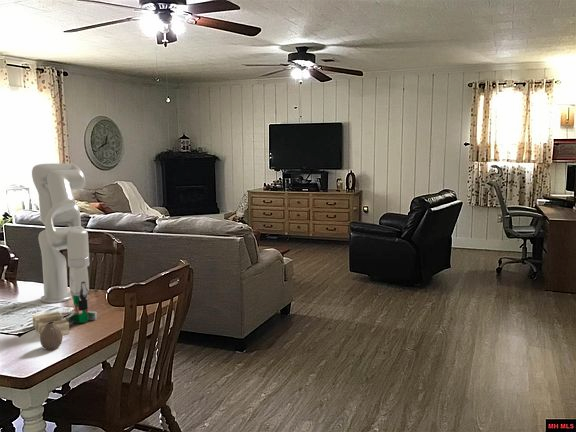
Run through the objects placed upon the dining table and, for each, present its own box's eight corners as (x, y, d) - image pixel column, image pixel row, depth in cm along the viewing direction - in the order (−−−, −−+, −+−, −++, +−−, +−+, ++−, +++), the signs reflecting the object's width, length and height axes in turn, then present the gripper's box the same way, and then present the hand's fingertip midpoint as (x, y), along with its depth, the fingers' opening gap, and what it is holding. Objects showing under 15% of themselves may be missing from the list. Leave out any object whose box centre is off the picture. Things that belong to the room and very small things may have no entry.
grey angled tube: (61, 319, 199) (60, 312, 199) (91, 314, 206) (91, 307, 205) (66, 325, 193) (66, 318, 192) (97, 319, 199) (97, 312, 199)
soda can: (71, 322, 195) (70, 292, 194) (81, 318, 200) (80, 289, 198) (81, 324, 193) (79, 293, 192) (91, 320, 198) (90, 290, 196)
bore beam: (33, 326, 192) (32, 315, 191) (58, 321, 197) (58, 311, 197) (42, 339, 179) (41, 328, 179) (69, 333, 185) (68, 323, 184)
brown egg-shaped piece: (45, 344, 175) (43, 319, 174) (66, 343, 176) (64, 319, 174) (37, 352, 168) (35, 326, 167) (58, 351, 169) (57, 326, 168)
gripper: (62, 259, 198) (65, 303, 200) (74, 267, 184) (76, 315, 187) (82, 256, 202) (84, 300, 205) (95, 265, 189) (97, 312, 191)
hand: (80, 307), depth 196 cm, fingers open, 5 cm apart
